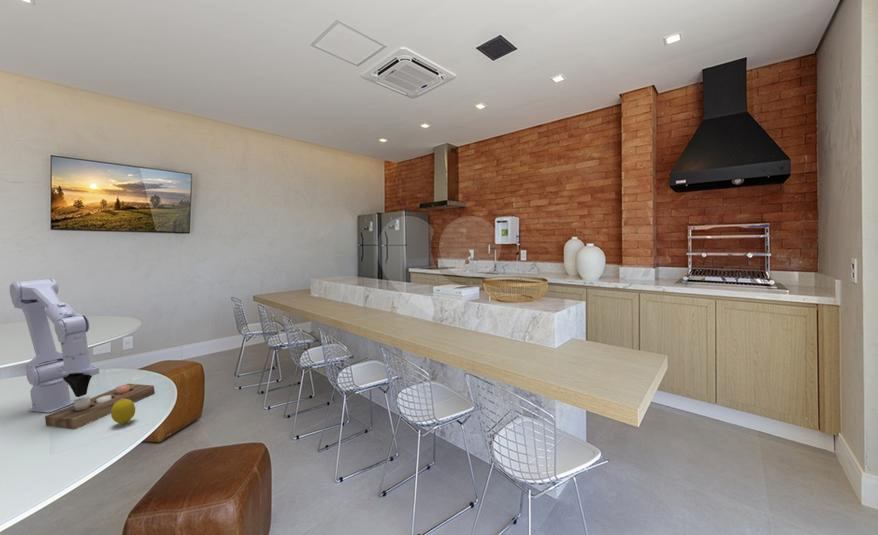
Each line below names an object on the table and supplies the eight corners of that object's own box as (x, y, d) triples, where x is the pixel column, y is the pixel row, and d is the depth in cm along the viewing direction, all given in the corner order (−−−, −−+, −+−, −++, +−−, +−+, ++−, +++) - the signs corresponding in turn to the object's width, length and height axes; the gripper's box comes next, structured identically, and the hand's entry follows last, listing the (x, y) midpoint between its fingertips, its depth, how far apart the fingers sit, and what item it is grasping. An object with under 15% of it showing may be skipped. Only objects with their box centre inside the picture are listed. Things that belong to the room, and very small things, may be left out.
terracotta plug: (114, 396, 123) (113, 388, 123) (125, 392, 127) (124, 384, 127) (122, 397, 123) (121, 389, 122) (133, 392, 126) (132, 384, 126)
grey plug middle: (94, 408, 118) (93, 399, 117) (106, 403, 121) (105, 395, 121) (103, 409, 117) (101, 400, 117) (115, 404, 120) (113, 395, 120)
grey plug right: (71, 410, 112) (70, 401, 111) (85, 405, 115) (84, 396, 115) (80, 411, 111) (79, 402, 111) (93, 406, 114) (92, 397, 114)
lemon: (122, 429, 105) (119, 403, 105) (107, 427, 106) (104, 402, 106) (141, 419, 111) (138, 395, 110) (127, 418, 112) (124, 394, 111)
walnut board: (46, 425, 109) (44, 416, 108) (128, 391, 132) (128, 383, 132) (75, 429, 106) (74, 419, 106) (154, 393, 130) (153, 385, 129)
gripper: (42, 357, 109) (48, 399, 110) (77, 359, 106) (83, 402, 107) (70, 350, 116) (75, 389, 117) (104, 351, 113) (109, 392, 114)
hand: (81, 395), depth 113 cm, fingers closed
